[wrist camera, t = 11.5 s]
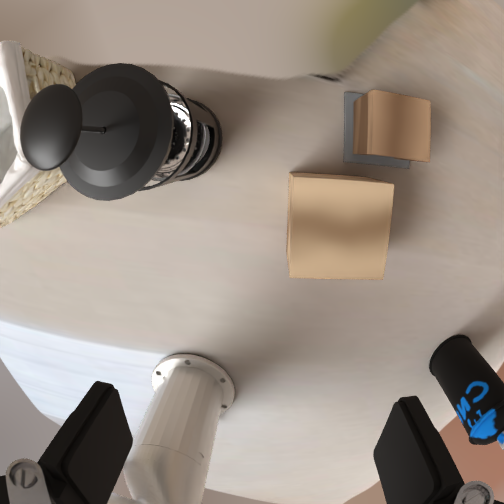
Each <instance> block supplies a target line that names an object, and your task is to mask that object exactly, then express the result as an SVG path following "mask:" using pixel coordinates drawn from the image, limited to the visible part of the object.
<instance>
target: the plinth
mask: <svg viewBox="0 0 504 504" xmlns="http://www.w3.org/2000/svg"><path fill="white" fill-rule="evenodd" d="M393 194H394V184H392V183H388V182H384V181H381V180H377V179H373V178H369V177H359V176H346V175H331V174H314V173H293V172H289V199H288V226H287V249H286V252H287V260H288V268H289V276H290V278H315V279H368V280H383V276H384V270H385V264H386V257H387V250H388V242H389V234H390V226H391V216H392V206H393Z"/></svg>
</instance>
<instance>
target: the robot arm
mask: <svg viewBox="0 0 504 504" xmlns="http://www.w3.org/2000/svg"><path fill="white" fill-rule="evenodd" d="M152 386H153V389H154V391H155V394H154V396H153V398H152V400H151V402H150V405H149V407H148V409H147V411H146V413H145V415H144V418H143V420H142V422H141V424H140V426H139V429H138V431H137V433H136V435H135V437H134V440H133V438H132V435H131V432H130V429H129V426H128V423H127V419H126V416H125V413H124V410H123V406H122V403H121V399H120V396H119V392H118V390H117V389H115V388H114V386H113V385H112V384H109V383H104V382H100V381H96V382H95V383H94V384H93V385H92V387H91V388H90V390H89V391H88V392H87V394H86V395H85V397H84V398H83V399H82V401H81V402H80V404H79V405H78V406H77V408H76V409H75V411H73V412H72V413H71V414H70V416H69V417H68V418H67V420H66V421H65V423H64V424H63V426H62V427H61V428H60V430H59V431H58V433H57V434H56V436H55V437H54V439H53V440H52V441H51V443H50V444H49V446H48V447H47V449H46V450H45V452H44V454H43V455H42V456H41V458H40V459H39V461H38V462H37V463H36V462H35V461H32V460H30V459H18V460H15V461H14V462H12V463H11V464H10V465H9V466H8V468H7V470H6V475H4V476H0V504H202V498H203V493H204V488H205V483H206V478H207V473H208V469H209V464H210V459H211V454H212V449H213V444H214V440H215V435H216V430H217V425H218V420H219V415H220V414H222V413H224V412H225V411H226V410H228V409H229V407H230V406H231V405H232V402H233V400H234V394H235V389H234V385H233V382H232V380H231V378H230V376H229V375H228V374H227V373H226V372H225V370H223V369H222V368H221V367H220V366H219V365H217V364H215V363H214V362H212V361H210V360H208V359H205V358H203V357H199V356H196V355H190V354H177V355H172V356H169V357H166V358H164V359H163V360H161V361H160V362H159V363H158V364H157V365H156V367H155V369H154V371H153V374H152ZM374 460H375V464H376V467H377V471H378V474H379V477H380V481H381V484H382V488H383V491H384V495H385V499H386V502H387V504H504V503H503V502H499V501H496V500H494V494H493V491H492V489H491V487H490V486H488V485H487V484H486V483H483V482H481V481H471V482H468V483H466V484H464V481H463V479H462V477H461V475H460V473H459V471H458V469H457V467H456V465H455V463H454V461H453V459H452V457H451V455H450V453H449V451H448V449H447V447H446V445H445V443H444V442H443V440H442V438H441V436H440V434H439V432H438V431H437V429H435V427H434V425H433V424H432V422H431V420H430V418H429V416H428V414H427V413H426V411H425V409H424V407H423V405H422V404H421V402H420V400H419V398H418V397H417V396H409V397H402V398H400V399H399V400H398V402H395V403H394V405H393V408H392V410H391V413H390V415H389V417H388V420H387V422H386V425H385V427H384V429H383V432H382V434H381V436H380V438H379V440H378V443H377V445H376V447H375V449H374ZM123 466H124V477H125V481H126V484H127V487H128V489H129V492H130V494H131V496H132V498H133V500H132V499H129V498H127V497H124V496H120V495H118V494H116V493H114V492H112V491H113V489H114V486H115V484H116V482H117V479H118V477H119V475H120V473H121V470H122V468H123Z"/></svg>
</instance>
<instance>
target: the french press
mask: <svg viewBox="0 0 504 504" xmlns="http://www.w3.org/2000/svg"><path fill="white" fill-rule="evenodd" d="M163 85H164V86H166V87H169V88H171V89H172V90H174V91H175V92H176V93H177V94H178V95H174V94H167V92H166V90H165V88H164V86H163ZM205 125H207V126H208V129H209V134H210V142H209V147H208V150H207V152H206V154H205V156H204V157H203V158H202V159H201V160H200V161H199V162H198V163H197V164H196V165H195V163H196V162H197V161H198V159H199V157H200V155H201V153H202V151H203V148H204V145H205V138H206V131H205ZM20 143H21V148H22V151H23V154H24V156H25V158H26V160H27V161H28V162H29V163H30V164H31V165H32V166H33V167H34V168H36V169H38V170H42V171H50V170H54V169H56V168H58V167H60V170H61V172H62V174H63V176H64V177H65V178H66V180H67V181H68V183H69V184H70V185H71V186H72V187H73V188H74V189H76V190H77V191H78V192H80V193H81V194H83V195H85V196H86V197H89V198H93V199H96V200H106V201H110V200H116V199H121V198H124V197H126V196H129V195H131V194H134V193H135V192H137V191H142V190H149V189H152V188H155V187H159V186H162V185H165V184H169V183H172V182H176V181H183V180H190V179H193V178H195V177H198V176H200V175H201V174H203V173H204V172H206V171H207V170H208V169H209V168H210V167H211V166H212V165H213V163H214V162H215V161H216V159H217V157H218V155H219V153H220V149H221V146H222V130H221V127H220V123H219V121H218V119H217V117H216V116H215V114H214V113H213V112H212V111H211V110H210V109H209V108H208V107H206V106H205V105H204V104H202V103H199V102H197V101H194V100H191V99H189V98H186V97H185V96H184V95H183V94H182V93H181V92H180V91H178V90H177V89H175V88H174V87H172V86H171V85H169V84H168V83H165V82H163V81H160V80H158V79H157V78H156V77H155V76H154V75H153V74H151V73H150V72H148V71H147V70H145V69H143V68H141V67H138V66H135V65H132V64H123V63H118V64H111V65H107V66H104V67H101V68H98V69H96V70H94V71H93V72H91V73H89V74H88V75H86V76H85V77H84V78H83V79H81V80H80V81H79V82H78V83H77V84H76V85H75V86H74V88H73V89H71V88H70V87H68V86H66V85H63V84H53V85H49V86H47V87H45V88H43V89H42V90H41V91H39V92H38V93H37V94H36V95H35V96H34V97H33V98H32V100H31V101H30V103H29V104H28V106H27V108H26V110H25V112H24V115H23V118H22V122H21V127H20ZM150 180H154V181H161V182H160V183H158V184H155V185H153V186H148V187H144V186H145V185H146V184H147V183H148V182H149V181H150Z"/></svg>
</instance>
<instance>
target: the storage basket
mask: <svg viewBox="0 0 504 504" xmlns="http://www.w3.org/2000/svg"><path fill="white" fill-rule="evenodd" d="M39 65H40V67H38V66H39ZM53 84H63V85H66V86H68V87H70V88H71V89H73V88H74V86H75V85H76V83H75V78H74V75H73V73H72V72H71V71H70V70H69V69H67V68H65V67H63V66H61V65H60V64H57V63H56V62H54V61H51V60H47V59H46V58H45V57H40V55H36V54H33V53H32V52H31V51H30V50H27V49H24V48H23V47H21V44H20V43H19V42H16V41H7V40H6V41H2V42H0V228H2V227H3V226H6V225H7V224H10V223H11V222H13V221H14V220H16V219H18V218H19V217H20V216H21V215H23V214H24V213H26V212H27V211H28V210H29V209H31V208H33V207H35V206H36V205H37V204H38V203H39V202H40V201H42V200H43V199H45V198H46V197H47V196H48V195H49V194H50V193H51V192H53V191H54V190H56V189H57V188H58V187H59V186H60V185H61V184H63V183H65V182H66V181H67V180H66V178H65V177H64V176H63V174H62V172H61V170H60V167H58V168H56V169H54V170H50V171H42V170H38V169H36V168H34V167H33V166H32V165H31V164H30V163H29V162H28V161H27V160H26V158H25V156H24V154H23V151H22V148H21V143H20V127H21V122H22V118H23V115H24V112H25V110H26V108H27V106H28V104H29V103H30V101H31V100H32V98H33V97H34V96H35V95H36V94H37V93H38V92H39V91H41V90H42V89H43V88H45V87H47V86H49V85H53Z"/></svg>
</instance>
